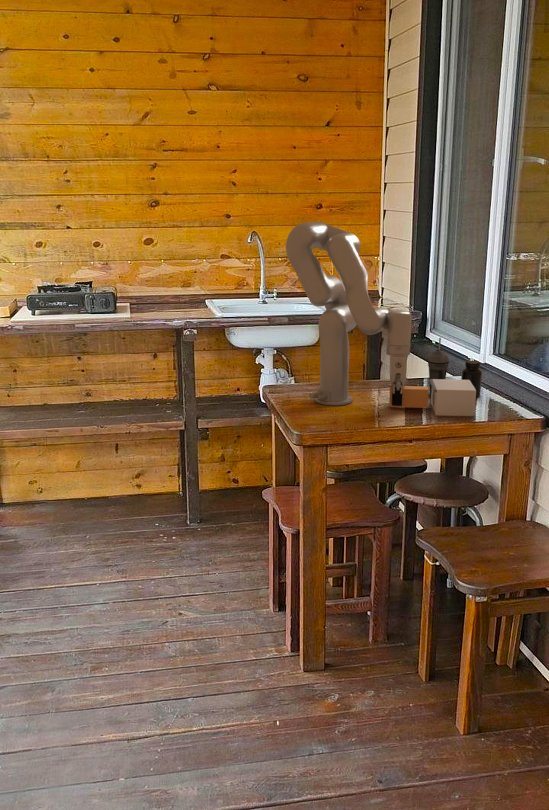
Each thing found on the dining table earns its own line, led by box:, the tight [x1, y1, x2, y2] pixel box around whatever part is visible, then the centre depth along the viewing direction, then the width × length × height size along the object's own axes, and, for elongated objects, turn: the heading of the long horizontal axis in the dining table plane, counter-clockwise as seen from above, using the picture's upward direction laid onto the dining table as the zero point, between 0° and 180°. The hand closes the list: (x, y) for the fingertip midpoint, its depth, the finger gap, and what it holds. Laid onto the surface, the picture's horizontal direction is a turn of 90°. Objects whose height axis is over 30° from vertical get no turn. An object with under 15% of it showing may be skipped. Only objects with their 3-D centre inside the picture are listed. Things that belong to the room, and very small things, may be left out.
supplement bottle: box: [460, 360, 483, 399], centre depth 257 cm, size 7×7×12 cm
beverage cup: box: [427, 337, 450, 395], centre depth 259 cm, size 7×7×20 cm
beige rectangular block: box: [430, 378, 477, 417], centre depth 241 cm, size 14×13×8 cm
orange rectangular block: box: [388, 385, 430, 409], centre depth 243 cm, size 4×12×6 cm, turn 84°
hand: (395, 401), depth 243 cm, fingers open, 9 cm apart
